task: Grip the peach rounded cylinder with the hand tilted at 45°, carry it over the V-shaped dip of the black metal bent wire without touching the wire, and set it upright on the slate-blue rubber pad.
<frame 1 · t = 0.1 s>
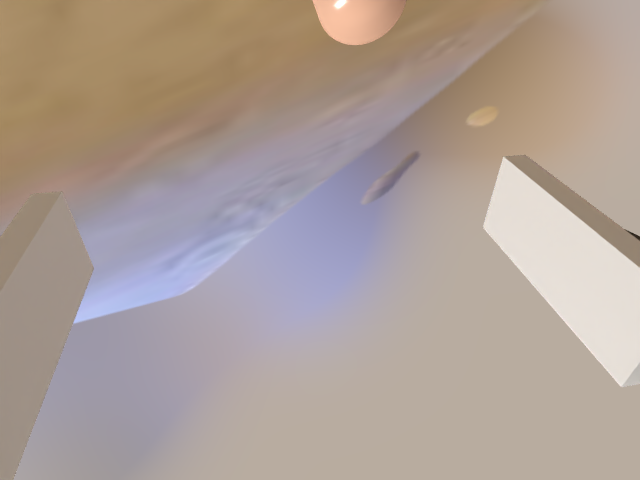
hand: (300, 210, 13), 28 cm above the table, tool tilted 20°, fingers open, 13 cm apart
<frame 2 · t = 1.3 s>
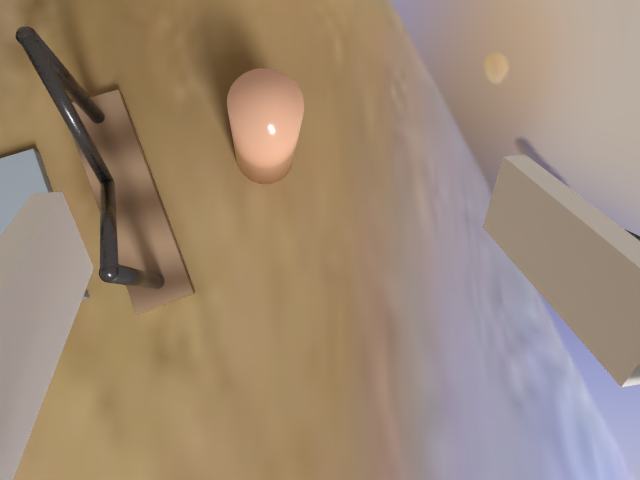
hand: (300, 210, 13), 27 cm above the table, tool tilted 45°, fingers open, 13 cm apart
wire base: (131, 201, 38), on the table
peach rounded cylinder: (264, 156, 41), on the table
bent wire: (100, 177, 31), on the wire base, point 7 cm above the table
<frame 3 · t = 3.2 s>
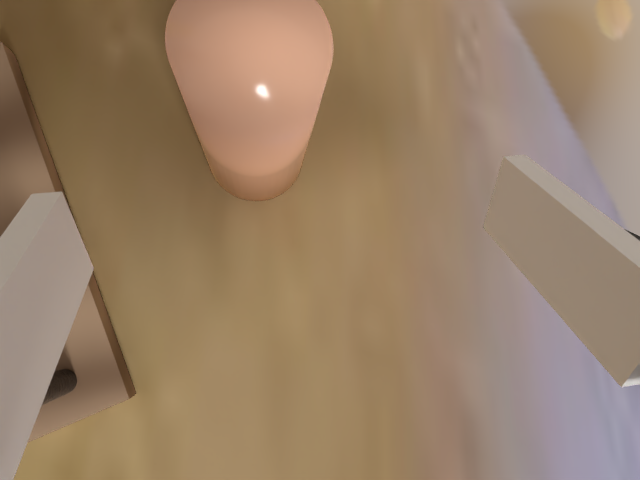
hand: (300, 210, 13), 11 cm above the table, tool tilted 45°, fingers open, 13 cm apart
wire base: (25, 234, 22), on the table
peach rounded cylinder: (255, 155, 25), on the table
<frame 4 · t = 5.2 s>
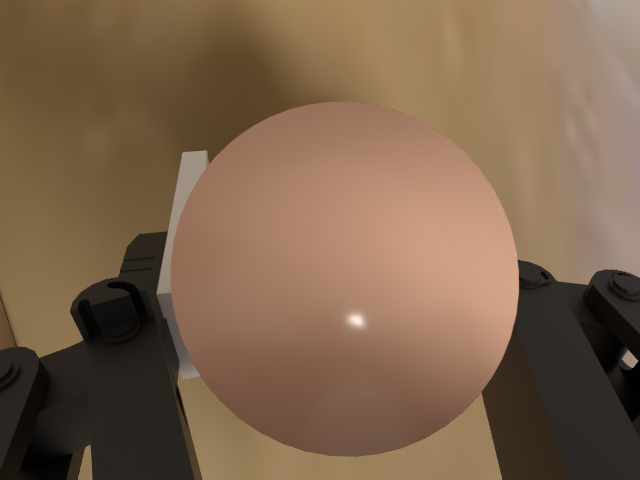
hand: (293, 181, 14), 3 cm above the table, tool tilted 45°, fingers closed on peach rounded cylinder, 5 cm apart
peach rounded cylinder: (297, 291, 17), on the table, touching gripper
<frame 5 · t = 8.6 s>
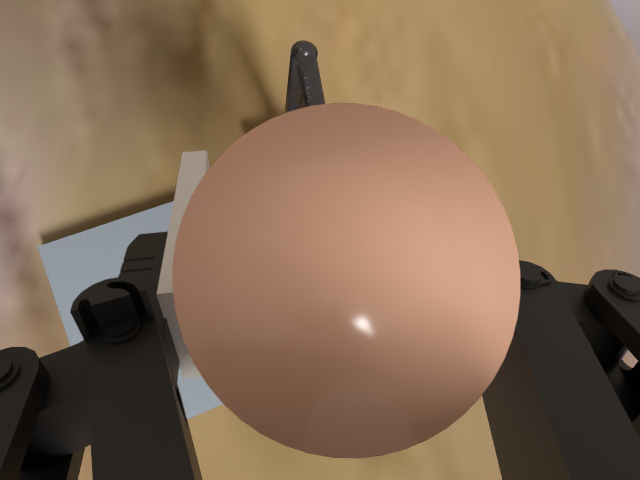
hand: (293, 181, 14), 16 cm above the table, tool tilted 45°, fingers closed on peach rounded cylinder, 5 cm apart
pad: (166, 312, 29), on the table
peach rounded cylinder: (298, 291, 17), point 13 cm above the table, touching gripper
bent wire: (346, 236, 24), on the wire base, point 7 cm above the table
when the fingers open (6 cm above the table, at t = 12.1 s): peach rounded cylinder drops 1 cm, resting on pad.
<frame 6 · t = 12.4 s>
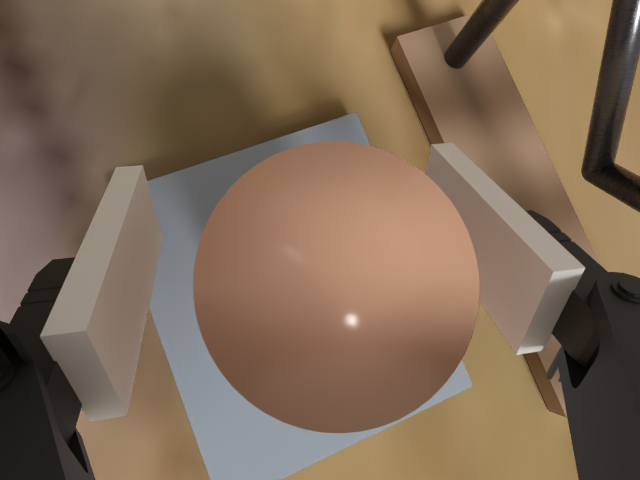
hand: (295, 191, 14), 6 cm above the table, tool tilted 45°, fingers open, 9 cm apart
pad: (293, 292, 20), on the table
wire base: (507, 206, 22), on the table
peach rounded cylinder: (297, 293, 19), point 1 cm above the table, touching pad
bent wire: (629, 156, 15), on the wire base, point 7 cm above the table
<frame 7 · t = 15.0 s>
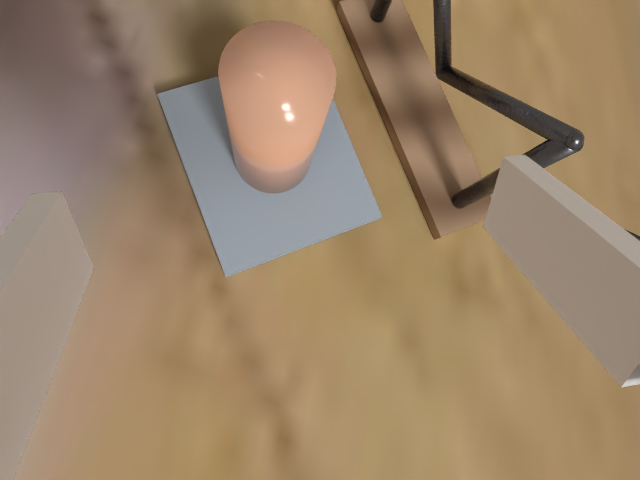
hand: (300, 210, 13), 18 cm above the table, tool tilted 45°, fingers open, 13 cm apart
pad: (270, 160, 31), on the table
wire base: (412, 113, 33), on the table
peach rounded cylinder: (272, 156, 30), point 1 cm above the table, touching pad
bent wire: (453, 59, 26), on the wire base, point 7 cm above the table
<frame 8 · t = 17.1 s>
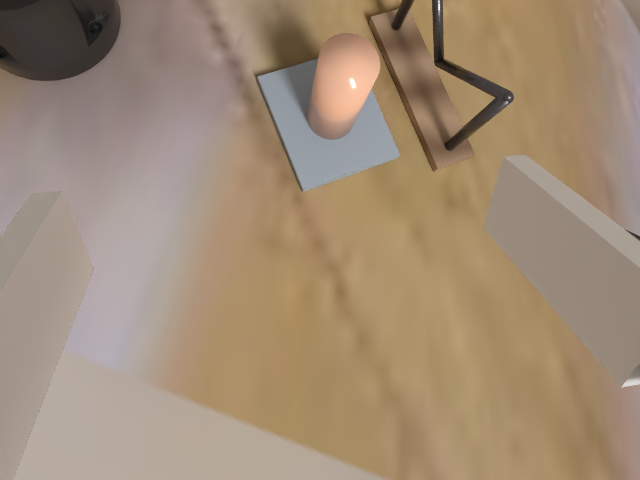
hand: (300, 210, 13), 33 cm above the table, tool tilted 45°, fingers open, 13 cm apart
pad: (328, 120, 49), on the table
wire base: (418, 90, 51), on the table
peach rounded cylinder: (330, 116, 48), point 1 cm above the table, touching pad
bent wire: (444, 54, 43), on the wire base, point 7 cm above the table
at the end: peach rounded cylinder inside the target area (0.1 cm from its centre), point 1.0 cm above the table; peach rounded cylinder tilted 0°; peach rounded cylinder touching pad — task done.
